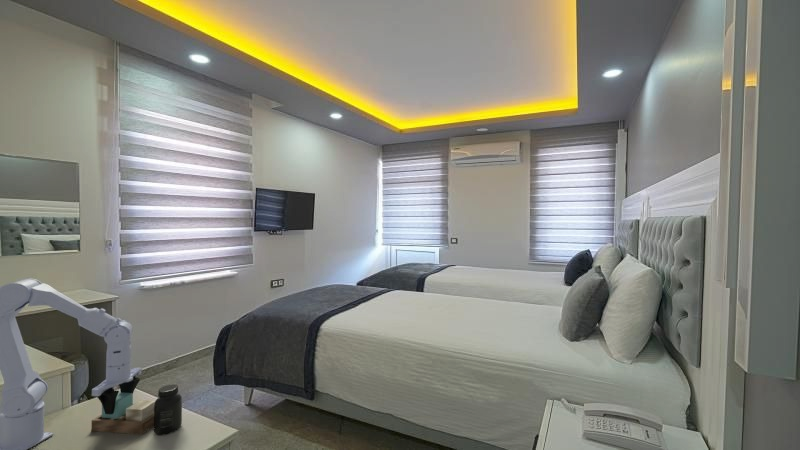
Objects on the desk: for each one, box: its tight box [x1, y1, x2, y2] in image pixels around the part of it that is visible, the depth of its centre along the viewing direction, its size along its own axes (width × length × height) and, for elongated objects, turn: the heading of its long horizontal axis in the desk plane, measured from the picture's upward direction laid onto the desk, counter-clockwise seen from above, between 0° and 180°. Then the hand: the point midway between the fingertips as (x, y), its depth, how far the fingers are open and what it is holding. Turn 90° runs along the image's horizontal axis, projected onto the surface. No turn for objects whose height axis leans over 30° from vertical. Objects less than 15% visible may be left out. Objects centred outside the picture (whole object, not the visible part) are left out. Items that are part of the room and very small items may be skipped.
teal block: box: [101, 391, 134, 419], centre depth 102 cm, size 5×5×5 cm
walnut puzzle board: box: [91, 399, 156, 435], centre depth 101 cm, size 16×8×6 cm, turn 86°
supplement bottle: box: [153, 383, 183, 436], centre depth 99 cm, size 7×7×12 cm
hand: (117, 408), depth 102 cm, fingers closed on teal block, 5 cm apart
